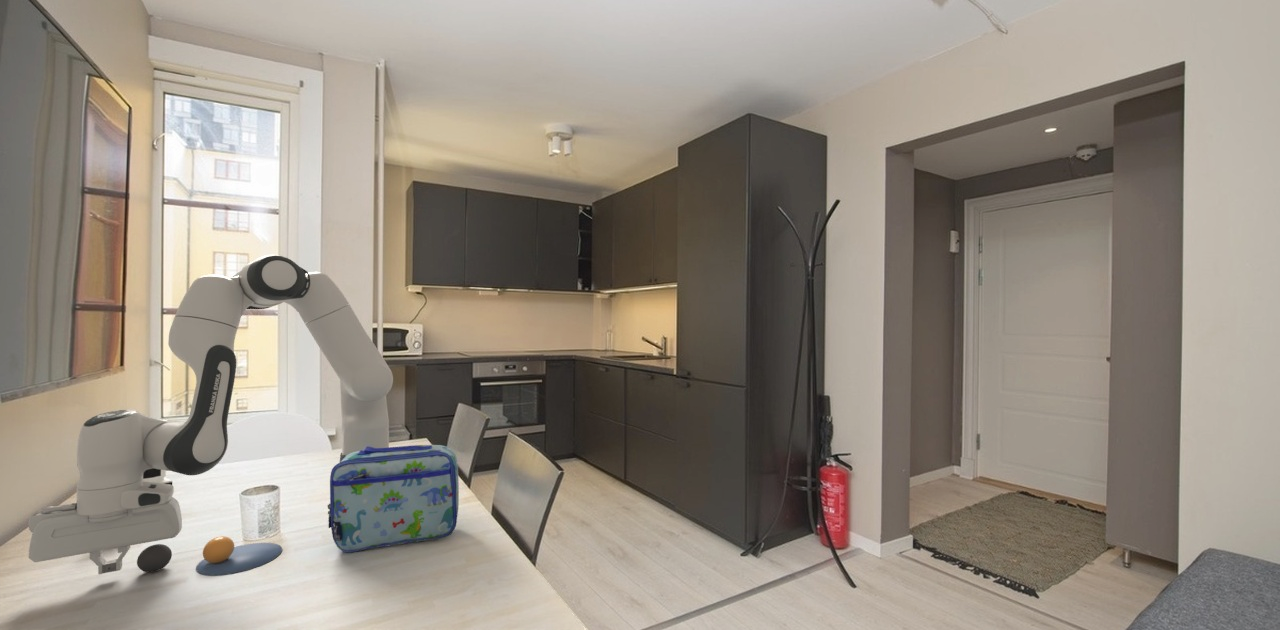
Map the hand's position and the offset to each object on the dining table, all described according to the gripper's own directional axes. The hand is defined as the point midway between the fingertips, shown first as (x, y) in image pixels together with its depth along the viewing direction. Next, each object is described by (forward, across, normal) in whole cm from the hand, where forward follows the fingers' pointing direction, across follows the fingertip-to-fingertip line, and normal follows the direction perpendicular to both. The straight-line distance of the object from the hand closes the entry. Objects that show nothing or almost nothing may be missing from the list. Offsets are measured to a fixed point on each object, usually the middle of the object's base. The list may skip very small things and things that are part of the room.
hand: (110, 571), depth 98 cm
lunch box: (+2, +48, -11) cm, 49 cm away
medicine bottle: (+2, -1, +45) cm, 45 cm away
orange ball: (-1, +16, -2) cm, 16 cm away
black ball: (-1, +6, 0) cm, 6 cm away
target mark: (+2, +20, -3) cm, 20 cm away
